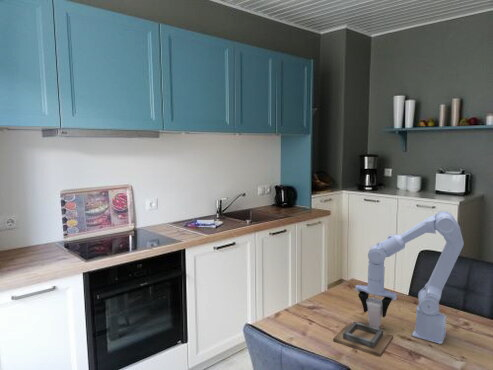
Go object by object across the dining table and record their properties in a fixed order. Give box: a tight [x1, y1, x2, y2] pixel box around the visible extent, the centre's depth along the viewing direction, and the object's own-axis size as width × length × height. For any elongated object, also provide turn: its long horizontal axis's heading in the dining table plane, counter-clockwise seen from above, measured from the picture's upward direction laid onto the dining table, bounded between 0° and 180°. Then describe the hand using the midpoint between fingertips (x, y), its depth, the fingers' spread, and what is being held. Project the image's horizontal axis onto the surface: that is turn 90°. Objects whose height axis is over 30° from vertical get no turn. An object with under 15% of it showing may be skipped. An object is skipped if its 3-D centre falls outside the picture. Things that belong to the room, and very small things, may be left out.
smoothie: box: [366, 295, 383, 329], centre depth 137 cm, size 6×6×14 cm
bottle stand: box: [332, 320, 394, 358], centre depth 128 cm, size 16×14×3 cm
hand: (374, 313), depth 138 cm, fingers closed on smoothie, 6 cm apart
